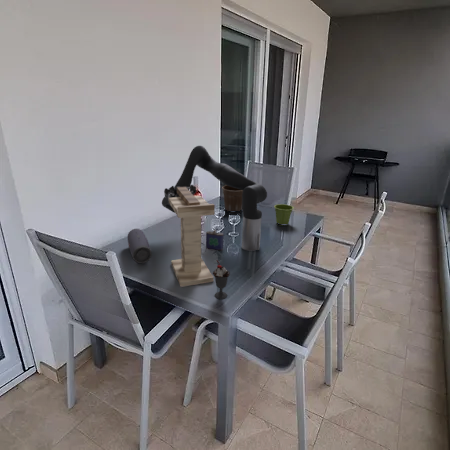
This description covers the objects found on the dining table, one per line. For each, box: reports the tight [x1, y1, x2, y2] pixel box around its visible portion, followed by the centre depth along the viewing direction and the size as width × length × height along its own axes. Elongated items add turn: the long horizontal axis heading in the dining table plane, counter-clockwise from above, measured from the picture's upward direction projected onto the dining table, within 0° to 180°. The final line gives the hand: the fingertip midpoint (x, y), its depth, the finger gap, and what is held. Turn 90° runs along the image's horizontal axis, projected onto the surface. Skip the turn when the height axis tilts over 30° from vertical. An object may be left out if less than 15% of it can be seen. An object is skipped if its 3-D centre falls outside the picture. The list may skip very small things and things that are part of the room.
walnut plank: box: [177, 187, 200, 206], centre depth 132 cm, size 24×4×2 cm, turn 20°
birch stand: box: [169, 195, 216, 288], centre depth 133 cm, size 20×14×34 cm
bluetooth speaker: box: [127, 228, 152, 264], centre depth 152 cm, size 23×9×10 cm, turn 22°
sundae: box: [212, 259, 231, 300], centre depth 121 cm, size 7×7×15 cm
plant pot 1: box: [221, 184, 243, 212], centre depth 218 cm, size 16×16×16 cm
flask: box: [205, 229, 225, 252], centre depth 160 cm, size 9×3×11 cm, turn 74°
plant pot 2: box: [273, 203, 295, 225], centre depth 196 cm, size 12×12×11 cm
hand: (182, 187), depth 138 cm, fingers open, 8 cm apart
